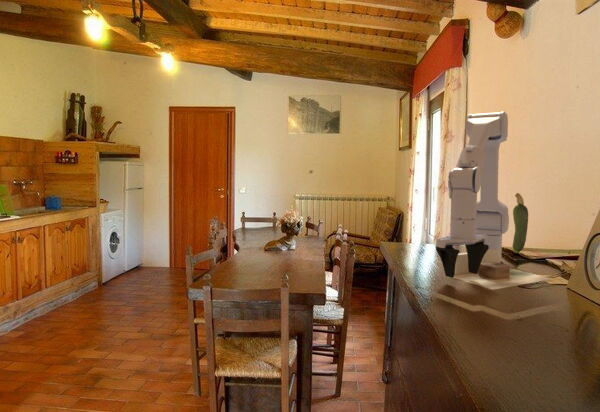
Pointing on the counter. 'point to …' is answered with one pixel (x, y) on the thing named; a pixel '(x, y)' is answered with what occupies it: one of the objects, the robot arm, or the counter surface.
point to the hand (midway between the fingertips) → (461, 274)
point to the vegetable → (520, 224)
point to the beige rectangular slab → (489, 256)
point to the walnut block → (494, 270)
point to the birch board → (513, 280)
